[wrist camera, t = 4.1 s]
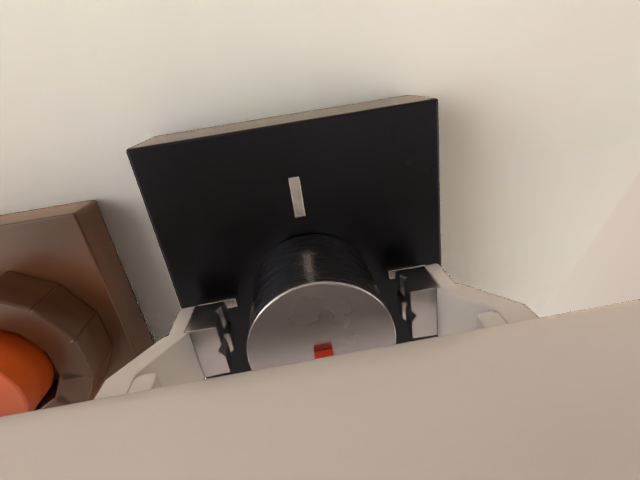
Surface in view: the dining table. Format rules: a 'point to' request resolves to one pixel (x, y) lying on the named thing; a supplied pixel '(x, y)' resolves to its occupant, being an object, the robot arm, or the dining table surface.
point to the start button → (22, 374)
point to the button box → (69, 297)
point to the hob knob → (315, 304)
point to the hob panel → (294, 198)
